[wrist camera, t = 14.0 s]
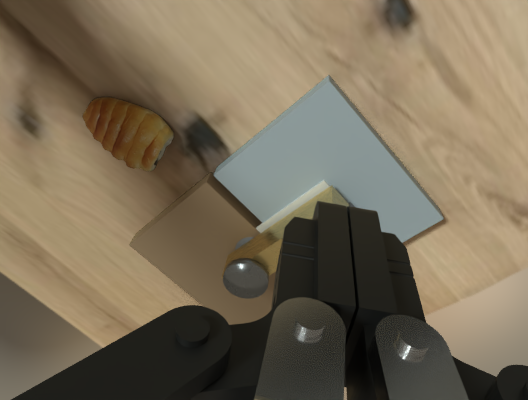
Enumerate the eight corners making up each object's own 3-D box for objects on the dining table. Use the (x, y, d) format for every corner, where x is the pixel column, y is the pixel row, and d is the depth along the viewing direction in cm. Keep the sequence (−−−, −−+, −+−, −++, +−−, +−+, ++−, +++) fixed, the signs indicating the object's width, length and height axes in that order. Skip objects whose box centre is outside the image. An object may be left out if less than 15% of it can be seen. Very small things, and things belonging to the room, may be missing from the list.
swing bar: (250, 275, 55) (244, 305, 51) (221, 249, 53) (213, 278, 49) (354, 210, 49) (357, 237, 44) (325, 178, 47) (326, 203, 43)
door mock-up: (135, 233, 57) (117, 263, 52) (328, 75, 44) (330, 94, 39) (243, 324, 64) (236, 358, 59) (439, 209, 51) (453, 240, 46)
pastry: (82, 128, 50) (66, 142, 47) (102, 78, 47) (85, 89, 44) (157, 169, 52) (146, 185, 49) (181, 123, 49) (171, 137, 46)
